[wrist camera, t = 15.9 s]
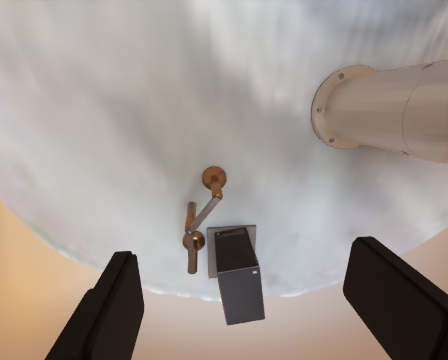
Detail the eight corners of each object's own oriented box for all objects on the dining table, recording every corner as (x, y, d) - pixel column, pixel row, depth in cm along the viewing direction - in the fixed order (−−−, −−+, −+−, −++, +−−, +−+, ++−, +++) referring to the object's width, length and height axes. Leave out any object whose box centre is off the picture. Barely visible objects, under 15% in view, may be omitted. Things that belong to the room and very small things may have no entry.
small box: (211, 232, 40) (215, 273, 31) (247, 225, 41) (261, 264, 31) (220, 277, 44) (225, 328, 34) (252, 271, 44) (267, 320, 34)
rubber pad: (255, 224, 42) (256, 226, 41) (253, 272, 45) (253, 275, 45) (207, 227, 41) (207, 229, 40) (208, 276, 44) (208, 278, 44)
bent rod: (229, 170, 38) (237, 189, 29) (201, 251, 42) (201, 287, 34) (201, 162, 37) (201, 179, 28) (175, 245, 41) (169, 281, 33)
